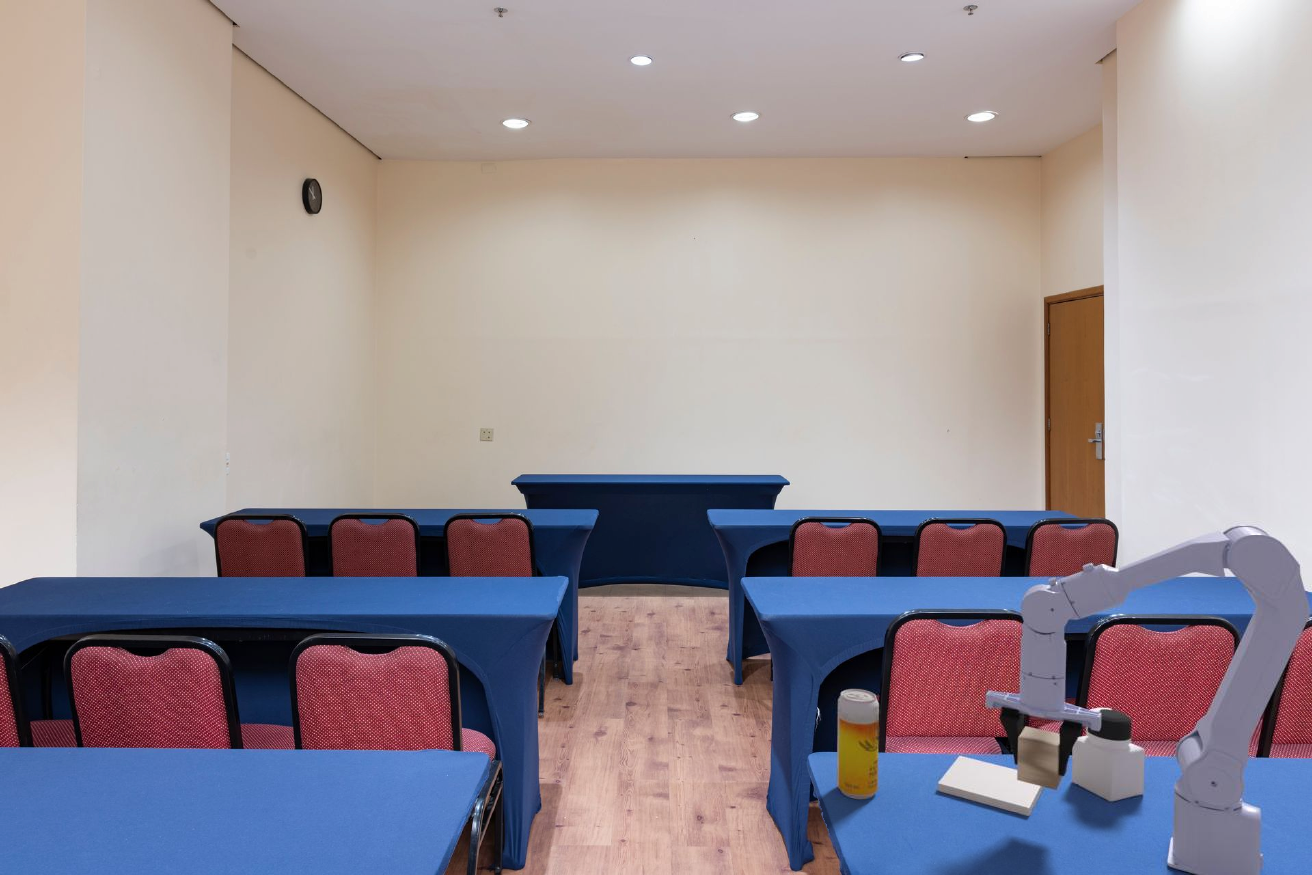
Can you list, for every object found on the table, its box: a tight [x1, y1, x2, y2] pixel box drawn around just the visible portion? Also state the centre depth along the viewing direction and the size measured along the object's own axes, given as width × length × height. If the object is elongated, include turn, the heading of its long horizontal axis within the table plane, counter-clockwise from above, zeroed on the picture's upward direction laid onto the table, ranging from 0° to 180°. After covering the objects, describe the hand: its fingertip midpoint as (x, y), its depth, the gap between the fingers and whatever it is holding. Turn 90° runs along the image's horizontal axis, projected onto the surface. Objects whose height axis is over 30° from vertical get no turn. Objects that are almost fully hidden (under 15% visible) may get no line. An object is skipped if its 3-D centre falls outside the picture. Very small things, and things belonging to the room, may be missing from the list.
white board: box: [937, 755, 1045, 817], centre depth 124 cm, size 13×12×1 cm
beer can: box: [836, 688, 880, 800], centre depth 123 cm, size 6×6×15 cm
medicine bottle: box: [1071, 707, 1146, 802], centre depth 124 cm, size 7×7×12 cm
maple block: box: [1016, 725, 1064, 791], centre depth 112 cm, size 5×5×6 cm
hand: (1040, 767), depth 112 cm, fingers closed on maple block, 5 cm apart
